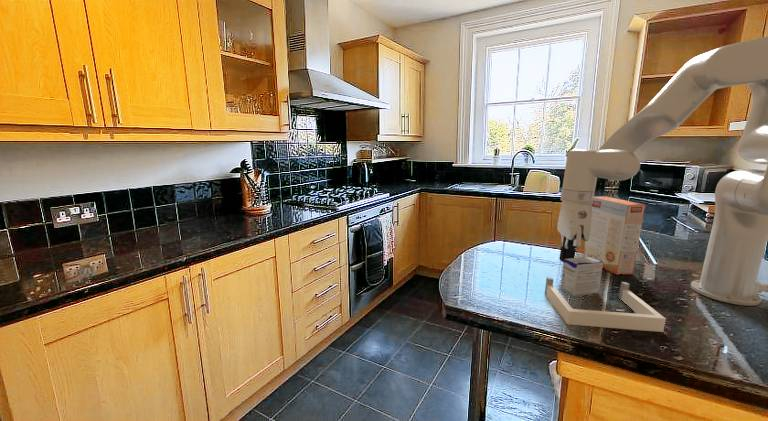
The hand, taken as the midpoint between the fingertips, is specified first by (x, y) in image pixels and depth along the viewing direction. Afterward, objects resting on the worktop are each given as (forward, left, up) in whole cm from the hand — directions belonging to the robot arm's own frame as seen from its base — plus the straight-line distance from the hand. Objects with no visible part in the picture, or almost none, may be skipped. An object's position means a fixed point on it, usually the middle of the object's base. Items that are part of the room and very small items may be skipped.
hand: (566, 261), depth 92 cm
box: (-1, +8, -5) cm, 10 cm away
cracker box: (-17, -12, -5) cm, 21 cm away
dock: (-1, +18, -5) cm, 19 cm away
